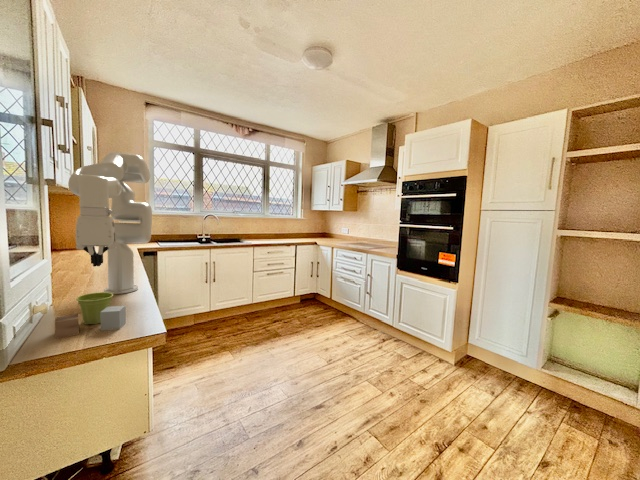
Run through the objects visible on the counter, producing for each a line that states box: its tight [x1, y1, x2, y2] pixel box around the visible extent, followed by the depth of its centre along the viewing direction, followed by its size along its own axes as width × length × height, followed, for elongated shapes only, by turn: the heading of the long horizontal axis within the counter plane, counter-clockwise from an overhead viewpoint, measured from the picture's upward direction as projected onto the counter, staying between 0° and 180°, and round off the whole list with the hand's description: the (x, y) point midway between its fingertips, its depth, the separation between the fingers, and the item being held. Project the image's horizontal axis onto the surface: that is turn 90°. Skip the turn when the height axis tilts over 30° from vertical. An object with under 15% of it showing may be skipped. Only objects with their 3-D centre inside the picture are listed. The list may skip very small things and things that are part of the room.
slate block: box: [100, 305, 127, 331], centre depth 85 cm, size 5×5×6 cm
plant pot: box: [75, 291, 114, 325], centre depth 89 cm, size 9×9×9 cm
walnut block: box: [54, 313, 80, 339], centre depth 79 cm, size 5×5×5 cm
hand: (97, 265), depth 91 cm, fingers closed
